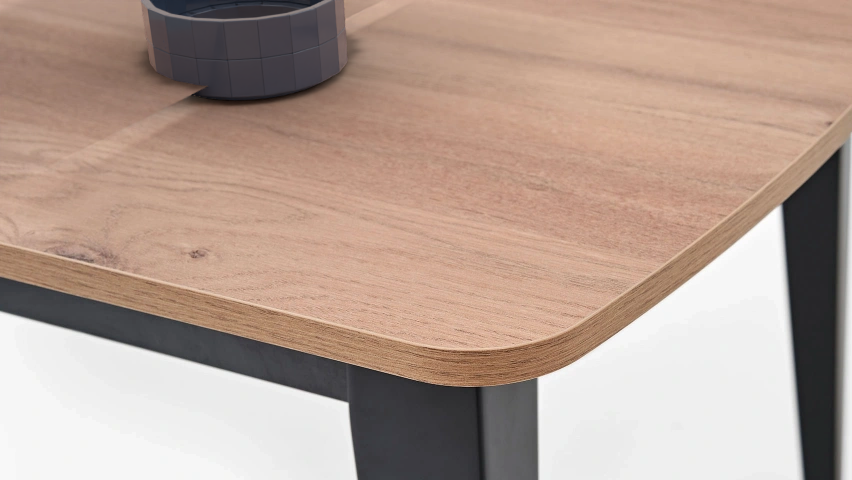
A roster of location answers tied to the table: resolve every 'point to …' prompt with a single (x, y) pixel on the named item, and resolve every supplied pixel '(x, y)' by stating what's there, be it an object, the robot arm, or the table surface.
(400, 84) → the table surface
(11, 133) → the table surface
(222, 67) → the faceted grey ring
